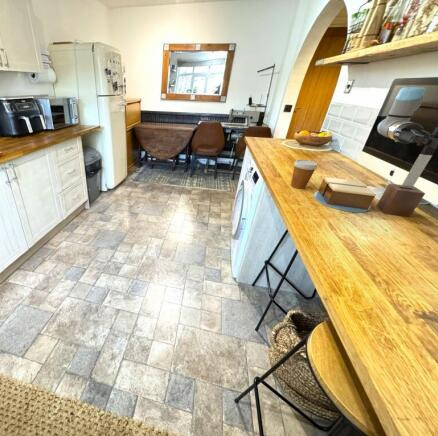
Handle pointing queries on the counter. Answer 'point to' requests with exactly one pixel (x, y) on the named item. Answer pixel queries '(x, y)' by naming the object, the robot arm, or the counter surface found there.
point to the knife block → (400, 200)
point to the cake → (345, 195)
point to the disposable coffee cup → (302, 173)
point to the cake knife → (420, 163)
